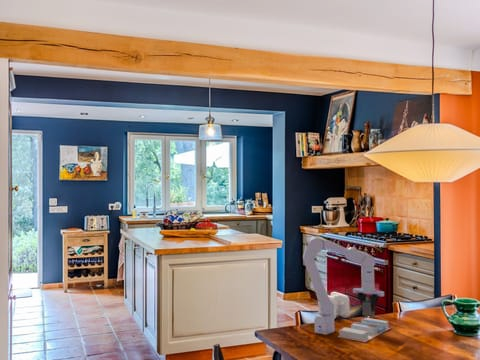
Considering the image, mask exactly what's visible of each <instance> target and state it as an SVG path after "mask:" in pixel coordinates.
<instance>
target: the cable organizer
mask: <svg viewBox="0 0 480 360" xmlns="http://www.w3.org/2000/svg"><path fill="white" fill-rule="evenodd" d="M327 295H328V297H329V299H330V301H331V302H332V303H333V304H334V311H333V312H334V320H335V319H336V318H337V316H340V317H342V318H344V319H347V318H349V317H350V315H351V314H350V313H351V311H350V297H349V296H348V295H346V294H344V293H340V292H338V291H332V292H330V295H329V294H327ZM319 309H320V308H319V307H318V310H319Z"/></svg>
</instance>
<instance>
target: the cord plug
mask: <svg viewBox="0 0 480 360" xmlns="http://www.w3.org/2000/svg"><path fill="white" fill-rule="evenodd" d="M361 309H362V316H366V317H373V316H374V315H375V311H376V310H375V311H372V309H371V299H370V296H366V301H363V302H362V306H361Z"/></svg>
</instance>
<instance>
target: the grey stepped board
mask: <svg viewBox="0 0 480 360" xmlns="http://www.w3.org/2000/svg"><path fill="white" fill-rule="evenodd" d="M353 322H354V321H353ZM390 329H391V327H389V321H388V320H383V319H375V318H369V317H365V318H361V320H360V321H359V322H358V321H355V322H354V323H352V324H351V325H350V327H345V326H344V327H343V328H341V329H339V330H338V333H339V335H338V336H337V337H338V338H343V339H348V340H353V341H358V342H363V343H366V342H368V341H369V340H371V339H374V338H376V337H377V336H379V335H380V334H383V333H384V332H386V331H388V330H390Z"/></svg>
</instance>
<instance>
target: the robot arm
mask: <svg viewBox="0 0 480 360" xmlns="http://www.w3.org/2000/svg"><path fill="white" fill-rule="evenodd" d="M304 245H305V246H304V250H303V255H302V259H303V262H304V266H305V267H306V271H307V273H308V276H309V279H310V280H311V284H312V286H313V289H314V291H315V295H316V297H317V307H318V311H317V315H316V316H315V318H314V322H313V324H314V333H315V334H322V335H329V334H332V333H334V332H335V319H334V312H333V311H334V304H333V303H332V302H331V301H330V299H329V297H328V295H329V294H328V292H327V290H326V288H325V285H324V283H323V280H322V277H321V274H320V271H319V269H318V266H317V263H316V261H315V259H316V257H317V254H319V253H320V252H321V251H322V250H323V251H324V250H325V251H326V250H330V251H334V252H335V253H336V252H337V253H340V254H342V255H344V257H345V258H346V260H348V261H351V262H353V263H356V264H358V265H359V264H360V265H361V267H360V268H361V271H360V272H361V274H360V276H361V288H360V287H359V288H358V287H354V288H353V289H352V293H353V294H356V297H357V298H358V300H359V303H360V306H361V307H362V302H363V301H366V297H367V295H368V296H369V295H370V296H369V297H370V301H371V309H372V311H376V309H377V304H378V301H379V300H380V297H385V291H383V290H377V289H375V288H376V287H375V267H374V266H376V260H375V257H374V256H372V255H371V254H368V253H367V252H366V251H361V250H358V249H357V247H355V246H352V247H351V246H350V247H347V248H346V247H344V246H343V245H340V244H337V243H335V242H333V241H330V240H328V239H324V238H322V237H317V236H310V237H309V238H308V239H307V240H306V242H305V244H304ZM319 308H320V309H319Z"/></svg>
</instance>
